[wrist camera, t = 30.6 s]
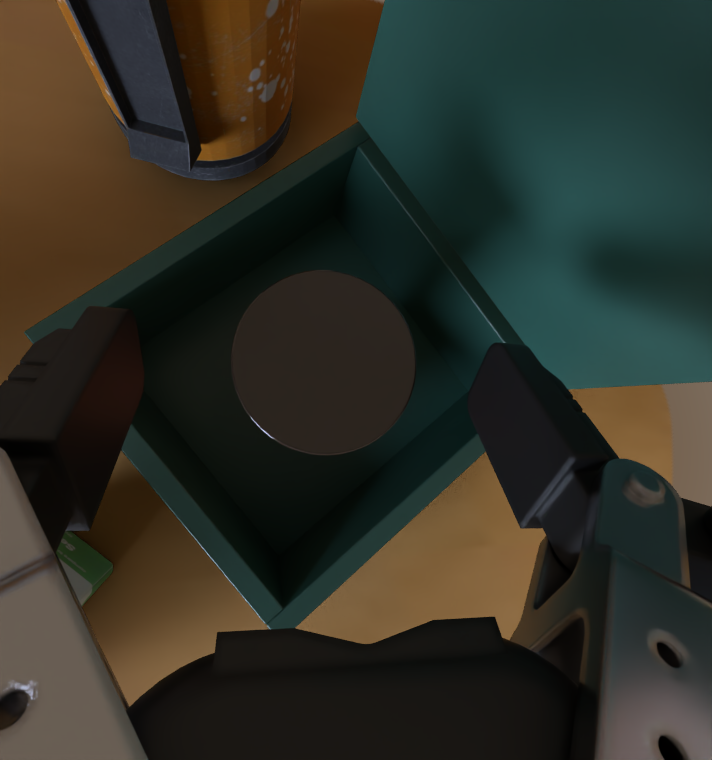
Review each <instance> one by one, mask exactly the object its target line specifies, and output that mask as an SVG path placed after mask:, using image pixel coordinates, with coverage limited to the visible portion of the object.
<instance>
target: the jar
mask: <svg viewBox="0 0 712 760" xmlns="http://www.w3.org/2000/svg"><path fill="white" fill-rule="evenodd" d="M416 364H417V361H416V350H415V346H414V341H413V337H412V335H411V332H410V329H409V327H408V325H407V323H406V321H405V319H404V317H403V315H402V314H401V312H400V311H399V309H398V308H397V307H396V305H395V304H394V303H393V302H392V301H391V300H390V298H388V297H387V296H386V295H385V294H384V293H383V292H382V291H381V290H379V289H378V288H376V287H375V286H374V285H372V284H371V283H369V282H367V281H365V280H363V279H361V278H359V277H356V276H354V275H351V274H347V273H343V272H339V271H332V270H311V271H304V272H300V273H296V274H293V275H290V276H288V277H285V278H283V279H281V280H279V281H277V282H275V283H274V284H272V285H270V286H269V287H268V288H266V289H265V290H264V291H263V292H261V293H260V294H259V295H258V296H257V297H256V298H255V299H254V300H253V302H252V303H251V304H250V305H249V307H248V308H247V310H246V311H245V312H244V314H243V316H242V318H241V320H240V322H239V324H238V326H237V329H236V332H235V335H234V339H233V343H232V349H231V373H232V378H233V383H234V387H235V390H236V393H237V395H238V398H239V400H240V402H241V404H242V406H243V408H244V410H245V411H246V413H247V414H248V415H249V417H250V418H251V420H252V421H253V422H254V423H255V424H256V425H257V426H258V427H259V428H260V429H261V430H262V431H263V432H264V433H265V434H267V435H268V436H269V437H270V438H272V439H273V440H275V441H277V442H278V443H280V444H281V445H284V446H286V447H288V448H290V449H292V450H296V451H299V452H302V453H306V454H313V455H329V456H330V455H339V454H344V453H349V452H353V451H356V450H358V449H361V448H363V447H365V446H367V445H369V444H371V443H373V442H374V441H376V440H377V439H379V438H380V437H381V436H383V435H384V434H385V433H386V432H387V431H388V430H389V429H390V428H391V427H392V426H393V425H394V424H395V423H396V422H397V420H398V419H399V418H400V417H401V415H402V413H403V412H404V410H405V408H406V407H407V404H408V402H409V400H410V397H411V395H412V391H413V388H414V384H415V378H416Z"/></svg>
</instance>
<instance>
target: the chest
mask: <svg viewBox="0 0 712 760" xmlns="http://www.w3.org/2000/svg"><path fill="white" fill-rule="evenodd" d="M311 270H332V271H339V272H343V273H347V274H351V275H354V276H356V277H359V278H361V279H363V280H365V281H367V282H369V283H371V284H372V285H374V286H375V287H376V288H378V289H379V290H381V291H382V292H383V293H384V294H385V295H386V296H387V297H388V298H390V300H391V301H392V302H393V303H394V304H395V305H396V307H397V308H398V309H399V311H400V312H401V314H402V315H403V317H404V319H405V321H406V323H407V325H408V327H409V329H410V332H411V335H412V337H413V341H414V346H415V350H416V361H417V364H416V378H415V384H414V388H413V391H412V395H411V397H410V400H409V402H408V404H407V407H406V408H405V410H404V412H403V413H402V415H401V417H400V418H399V419H398V420H397V422H396V423H395V424H394V425H393V426H392V427H391V428H390V429H389V430H388V431H387V432H386V433H385V434H384V435H383V436H381V437H380V438H379V439H377V440H376V441H374V442H373V443H371V444H369V445H367V446H365V447H363V448H361V449H358V450H356V451H353V452H349V453H344V454H339V455H330V456H329V455H313V454H306V453H302V452H299V451H296V450H292V449H290V448H288V447H286V446H284V445H281V444H280V443H278V442H277V441H275V440H273V439H272V438H270V437H269V436H268V435H267V434H265V433H264V432H263V431H262V430H261V429H260V428H259V427H258V426H257V425H256V424H255V423H254V422H253V421H252V420H251V418H250V417H249V415H248V414H247V413H246V411H245V410H244V408H243V406H242V404H241V402H240V400H239V398H238V395H237V393H236V390H235V387H234V383H233V378H232V373H231V349H232V343H233V339H234V335H235V332H236V329H237V326H238V324H239V322H240V320H241V318H242V316H243V314H244V312H245V311H246V310H247V308H248V307H249V305H250V304H251V303H252V302H253V300H254V299H255V298H256V297H257V296H258V295H259V294H260V293H261V292H263V291H264V290H265V289H266V288H268V287H269V286H270V285H272V284H274V283H275V282H277V281H279V280H281V279H283V278H285V277H288V276H290V275H293V274H296V273H300V272H304V271H311ZM89 306H100V307H111V308H122V309H131V310H132V311H133V312H134V314H135V318H136V323H137V329H138V335H139V341H140V347H141V353H142V359H143V365H144V389H143V394H142V397H141V400H140V402H139V405H138V408H137V410H136V413H135V415H134V418H133V420H132V423H131V425H130V428H129V431H128V433H127V436H126V438H125V441H124V443H123V446H122V449H121V451H122V452H123V453H124V454H125V455H126V457H127V458H128V459H129V460H130V461H131V463H132V464H133V465H134V466H135V468H136V469H137V470H138V471H139V472H140V474H141V475H142V476H143V477H144V478H145V480H146V481H147V482H148V483H149V484H150V486H151V487H152V488H153V489H154V490H155V492H156V493H157V494H158V495H159V496H160V498H161V499H162V500H163V501H164V503H165V504H166V505H167V506H168V507H169V509H170V510H171V511H172V512H173V513H174V515H175V516H176V517H177V518H178V519H179V521H180V522H181V523H182V524H183V525H184V527H185V528H186V529H187V530H188V532H189V533H190V534H191V535H192V536H193V538H194V539H195V540H196V541H197V542H198V544H199V545H200V546H201V547H202V548H203V550H204V551H205V552H206V553H207V554H208V556H209V557H210V558H211V559H212V561H213V562H214V563H215V564H216V565H217V567H218V568H219V569H220V570H221V571H222V573H223V574H224V575H225V576H226V577H227V579H228V580H229V581H230V582H231V583H232V585H233V586H234V587H235V588H236V590H237V591H238V592H239V593H240V594H241V596H242V597H243V598H244V599H245V600H246V602H247V603H248V604H249V605H250V606H251V608H252V609H253V610H254V611H255V612H256V614H257V615H258V616H259V617H260V618H261V620H262V621H263V622H264V623H265V624H267V627H268V628H269V629H285V628H295V627H296V626H297V625H299V624H300V623H301V622H302V621H303V620H304V619H305V618H306V617H307V616H308V615H309V614H310V613H312V612H313V611H314V610H315V609H316V608H317V607H318V606H319V605H320V604H321V603H322V602H323V601H324V600H326V599H327V598H328V597H329V596H330V595H331V594H332V593H333V592H334V591H335V590H336V589H337V588H339V587H340V586H341V585H342V584H343V583H344V582H345V581H346V580H347V579H348V578H349V577H350V576H351V575H353V574H354V573H355V572H356V571H357V570H358V569H359V568H360V567H361V566H362V565H363V564H364V563H366V562H367V561H368V560H369V559H370V558H371V557H372V556H373V555H374V554H375V553H376V552H377V551H378V550H380V549H381V548H382V547H383V546H384V545H385V544H386V543H387V542H388V541H389V540H390V539H391V538H393V537H394V536H395V535H396V534H397V533H398V532H399V531H400V530H401V529H402V528H403V527H404V526H406V525H407V524H408V523H409V522H410V521H411V520H412V519H413V518H414V517H415V516H416V515H417V514H418V513H420V512H421V511H422V510H423V509H424V508H425V507H426V506H427V505H428V504H429V503H430V502H431V501H433V500H434V499H435V498H436V497H437V496H438V495H439V494H440V493H441V492H442V491H443V490H444V489H445V488H447V487H448V486H449V485H450V484H451V483H452V482H453V481H454V480H455V479H456V478H457V477H458V476H460V475H461V474H462V473H463V472H464V471H465V470H466V469H467V468H468V467H469V466H470V465H471V464H472V463H474V462H475V461H476V460H477V459H478V458H479V457H480V456H481V455H482V454H483V453H484V452H485V449H484V446H483V444H482V442H481V440H480V438H479V435H478V433H477V431H476V429H475V427H474V424H473V422H472V420H471V418H470V415H469V412H468V407H467V399H468V393H469V390H470V388H471V386H472V383H473V381H474V379H475V377H476V375H477V372H478V370H479V368H480V366H481V364H482V361H483V359H484V357H485V355H486V353H487V351H488V349H489V347H490V346H491V345H492V344H493V343H496V342H498V343H510V344H521V345H525V344H524V342H523V341H522V340H521V338H520V337H519V336H518V334H517V333H516V332H515V330H514V329H513V328H512V326H511V325H510V324H509V322H508V321H507V320H506V318H505V317H504V316H503V314H502V313H501V312H500V310H499V309H498V307H497V306H496V305H495V303H494V302H493V301H492V299H491V298H490V297H489V295H488V294H487V293H486V291H485V290H484V289H483V287H482V286H481V285H480V283H479V282H478V281H477V279H476V278H475V277H474V275H473V274H472V273H471V271H470V270H469V269H468V267H467V266H466V264H465V263H464V262H463V260H462V259H461V258H460V256H459V255H458V254H457V252H456V251H455V250H454V248H453V247H452V246H451V244H450V243H449V242H448V240H447V239H446V238H445V236H444V235H443V234H442V232H441V231H440V230H439V228H438V227H437V226H436V224H435V223H434V221H433V220H432V219H431V217H430V216H429V215H428V213H427V212H426V211H425V209H424V208H423V207H422V205H421V204H420V203H419V201H418V200H417V199H416V197H415V196H414V195H413V193H412V192H411V191H410V189H409V188H408V187H407V185H406V184H405V183H404V181H403V180H402V179H401V177H400V176H399V174H398V173H397V172H396V170H395V169H394V168H393V166H392V165H391V164H390V162H389V161H388V160H387V158H386V157H385V156H384V154H383V153H382V152H381V150H380V149H379V148H378V146H377V145H376V144H375V142H374V141H373V140H372V138H371V137H370V136H369V134H368V133H367V131H366V130H365V129H364V127H363V126H362V125H361V123H360V122H357V123H356V124H354V125H352V126H351V127H349V128H348V129H346V130H344V131H343V132H341V133H340V134H338V135H336V136H335V137H333V138H332V139H330V140H328V141H327V142H325V143H324V144H322V145H321V146H319V147H317V148H316V149H314V150H313V151H311V152H309V153H308V154H306V155H305V156H303V157H301V158H300V159H298V160H297V161H295V162H293V163H292V164H290V165H289V166H287V167H286V168H284V169H282V170H281V171H279V172H278V173H276V174H274V175H273V176H271V177H270V178H268V179H266V180H265V181H263V182H262V183H260V184H258V185H257V186H255V187H254V188H252V189H250V190H249V191H247V192H246V193H244V194H243V195H241V196H239V197H238V198H236V199H235V200H233V201H231V202H230V203H228V204H227V205H225V206H223V207H222V208H220V209H219V210H217V211H215V212H214V213H212V214H211V215H209V216H207V217H206V218H204V219H203V220H201V221H200V222H198V223H196V224H195V225H193V226H192V227H190V228H188V229H187V230H185V231H184V232H182V233H180V234H179V235H177V236H176V237H174V238H172V239H171V240H169V241H168V242H166V243H165V244H163V245H161V246H160V247H158V248H157V249H155V250H153V251H152V252H150V253H149V254H147V255H145V256H144V257H142V258H141V259H139V260H137V261H136V262H134V263H133V264H131V265H129V266H128V267H126V268H125V269H123V270H122V271H120V272H118V273H117V274H115V275H114V276H112V277H110V278H109V279H107V280H106V281H104V282H102V283H101V284H99V285H98V286H96V287H94V288H93V289H91V290H90V291H88V292H86V293H85V294H83V295H82V296H80V297H79V298H77V299H75V300H74V301H72V302H71V303H69V304H67V305H66V306H64V307H63V308H61V309H59V310H58V311H56V312H55V313H53V314H51V315H50V316H48V317H47V318H45V319H44V320H42V321H40V322H39V323H37V324H36V325H34V326H32V327H31V328H29V329H28V330H26V331H25V332H24V333H25V335H26V336H27V337H28V338H29V339H30V341H31V342H32V343H33V344H34V343H35V342H36V341H38V340H40V339H41V338H43V337H45V336H46V335H48V334H50V333H51V332H53V331H55V330H56V329H58V328H63V329H72V328H73V327H74V325H75V324H76V322H77V321H78V319H79V318H80V317H81V315H82V314H83V312H84V311H85V309H86V308H87V307H89Z"/></svg>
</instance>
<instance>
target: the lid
mask: <svg viewBox="0 0 712 760" xmlns="http://www.w3.org/2000/svg"><path fill="white" fill-rule="evenodd" d="M356 118H357V119H358V121H359V122H360V123H361V125H362V126H363V127H364V129H365V130H366V131H367V133H368V134H369V136H370V137H371V138H372V140H373V141H374V142H375V144H376V145H377V146H378V148H379V149H380V150H381V152H382V153H383V154H384V156H385V157H386V158H387V160H388V161H389V162H390V164H391V165H392V166H393V168H394V169H395V170H396V172H397V173H398V174H399V176H400V177H401V179H402V180H403V181H404V183H405V184H406V185H407V187H408V188H409V189H410V191H411V192H412V193H413V195H414V196H415V197H416V199H417V200H418V201H419V203H420V204H421V205H422V207H423V208H424V209H425V211H426V212H427V213H428V215H429V216H430V217H431V219H432V220H433V221H434V223H435V224H436V226H437V227H438V228H439V230H440V231H441V232H442V234H443V235H444V236H445V238H446V239H447V240H448V242H449V243H450V244H451V246H452V247H453V248H454V250H455V251H456V252H457V254H458V255H459V256H460V258H461V259H462V260H463V262H464V263H465V264H466V266H467V267H468V269H469V270H470V271H471V273H472V274H473V275H474V277H475V278H476V279H477V281H478V282H479V283H480V285H481V286H482V287H483V289H484V290H485V291H486V293H487V294H488V295H489V297H490V298H491V299H492V301H493V302H494V303H495V305H496V306H497V307H498V309H499V310H500V312H501V313H502V314H503V316H504V317H505V318H506V320H507V321H508V322H509V324H510V325H511V326H512V328H513V329H514V330H515V332H516V333H517V334H518V336H519V337H520V338H521V340H522V341H523V342H524V344H525V345H526V346H528V347H529V348H530V349H531V351H532V352H533V353H534V355H535V356H536V358H537V359H538V360H539V362H540V363H541V364H542V366H543V367H545V368H546V369H547V370H548V371H550V372H551V373H552V374H553V375H555V376H556V377H557V378H558V379H560V380H561V381H562V382H563V384H564V385H565V386H566V388H567V389H584V388H602V387H620V386H639V385H657V384H674V383H693V382H712V0H385V2H384V6H383V10H382V14H381V18H380V22H379V26H378V30H377V34H376V38H375V42H374V46H373V50H372V54H371V58H370V62H369V66H368V70H367V74H366V78H365V82H364V86H363V90H362V94H361V98H360V102H359V106H358V110H357V114H356Z"/></svg>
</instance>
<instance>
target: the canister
mask: <svg viewBox="0 0 712 760" xmlns="http://www.w3.org/2000/svg"><path fill="white" fill-rule="evenodd" d="M56 1H57V3H58V5H59V7H60V9H61V11H62V13H63V15H64V17H65V19H66V21H67V23H68V25H69V27H70V29H71V31H72V33H73V35H74V37H75V39H76V41H77V43H78V45H79V47H80V49H81V51H82V53H83V55H84V57H85V59H86V61H87V63H88V65H89V67H90V69H91V71H92V73H93V75H94V77H95V79H96V81H97V83H98V85H99V87H100V89H101V91H102V93H103V95H104V97H105V99H106V101H107V102H108V104H109V107H110V109H111V111H112V113H113V115H114V117H115V119H116V121H117V123H118V125H119V127H120V128H121V130H122V131H123V133H124V135H125V136H126V138H127V139H128V142H129V148H130V155H131V158H135V159H139V160H143V161H147V162H151V163H155V164H156V165H158V166H160V167H162V168H164V169H166V170H168V171H170V172H172V173H175V174H178V175H181V176H184V177H187V178H193V179H199V180H225V179H232V178H235V177H239V176H242V175H245V174H247V173H249V172H252V171H254V170H256V169H257V168H259V167H260V166H262V165H263V164H265V163H266V162H267V161H268V160H269V159H270V158H271V157H272V156H273V155H274V154H275V153H276V152H277V150H278V149H279V148H280V146H281V145H282V143H283V141H284V139H285V137H286V135H287V132H288V128H289V124H290V120H291V108H292V96H293V84H294V72H295V60H296V48H297V36H298V24H299V12H300V0H56Z"/></svg>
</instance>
